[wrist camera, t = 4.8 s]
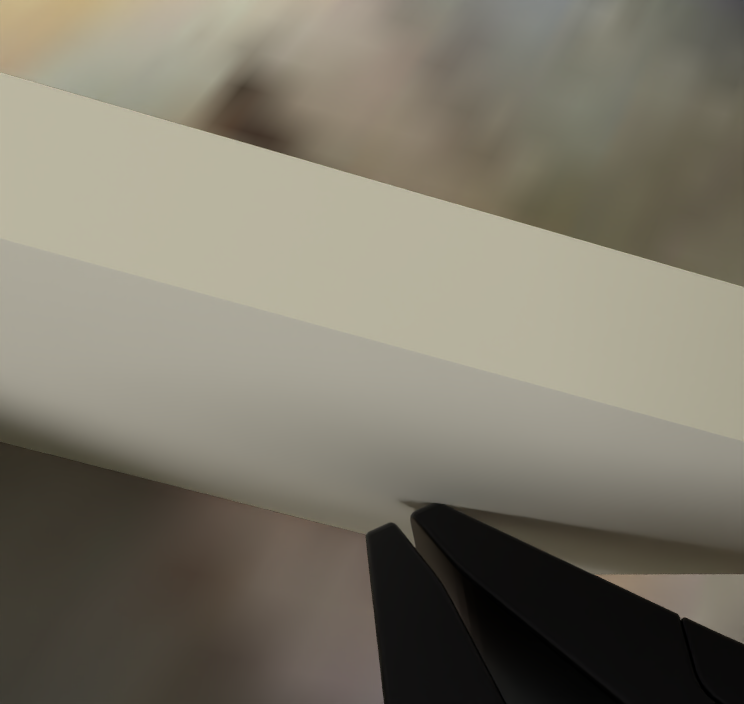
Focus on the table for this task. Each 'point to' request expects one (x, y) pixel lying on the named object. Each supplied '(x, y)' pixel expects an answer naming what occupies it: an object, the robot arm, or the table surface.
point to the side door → (357, 346)
